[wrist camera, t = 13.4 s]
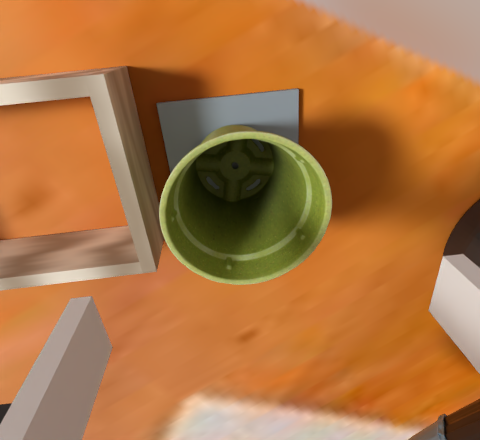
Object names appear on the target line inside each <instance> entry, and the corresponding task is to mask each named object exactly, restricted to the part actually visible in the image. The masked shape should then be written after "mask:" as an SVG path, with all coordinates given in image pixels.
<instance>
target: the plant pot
mask: <svg viewBox="0 0 480 440" xmlns="http://www.w3.org/2000/svg"><path fill="white" fill-rule="evenodd" d="M251 139H257V140H258V141H259V142H260V143H261V144H262V145H263V147H264V151H263V152H262V151H261V150H260V149H259V147H258V146H257V145H256V144H255V143H254V142H253V141H252V140H251ZM209 148H210V149H209ZM233 163H237V164H238V166H239V167H238V168H237V169H234V168H233V167H232V164H233ZM207 177H210V178H211V180H212V181H213V182H214V183H215V184H216V185H217V186H219V189H215V188H214V187H213V186H212V185H210V184H209V183H208V182H207V180H206V178H207ZM257 179H260V183H259V184H258V185H257V186H256V187H255V188H253V189H251V190H246V188H247V187H249V186H250V185H252V184H253V183H254V182H255V181H256V180H257ZM331 210H332V194H331V188H330V185H329V181H328V178H327V177H326V174H325V172H324V170H323V169H322V167H321V166H320V164H319V163H318V162H317V160H316V159H315V158H314V157H313V156H312V155H311V154H310V153H309V152H308V151H307V150H305V149H304V148H303V147H302V146H300V145H299V144H297V143H295V142H294V141H292V140H290V139H287V138H285V137H283V136H280V135H277V134H273V133H269V132H263V131H257V130H255V129H253V128H251V127H248V126H243V125H227V126H223V127H220V128H218V129H216V130H214V131H213V132H211V133H210V134H209V135H207V136H206V137H205V139H204V140H203V141H202V143H201V144H200V145H198V146H197V147H195V148H194V149H193V150H191V151H190V152H189V153H188V154H187V155H185V156H184V157H183V158H182V159H181V161H180V162H179V163H178V164H177V165H176V167H175V168H174V169H173V171H172V173H171V174H170V176H169V178H168V180H167V182H166V184H165V186H164V189H163V192H162V195H161V200H160V207H159V218H160V226H161V230H162V233H163V236H164V238H165V241H166V243H167V245H168V247H169V248H170V250H171V251H172V253H173V254H174V255H175V257H176V258H177V259H178V260H179V261H180V262H181V263H182V264H184V265H185V266H186V267H187V268H189V269H190V270H191V271H193V272H195V273H196V274H198V275H201V276H203V277H205V278H207V279H209V280H212V281H216V282H220V283H227V284H235V285H244V284H255V283H260V282H264V281H268V280H271V279H274V278H276V277H279V276H281V275H283V274H285V273H287V272H289V271H290V270H292V269H293V268H295V267H296V266H298V265H299V264H300V263H302V262H303V261H304V260H305V259H306V258H307V257H308V256H309V255H310V254H311V253H312V252H313V251H314V250H315V248H316V247H317V245H318V244H319V243H320V241H321V239H322V237H323V236H324V234H325V232H326V229H327V226H328V223H329V221H330V218H331Z"/></svg>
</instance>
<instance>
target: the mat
mask: <svg viewBox="0 0 480 440" xmlns="http://www.w3.org/2000/svg"><path fill="white" fill-rule="evenodd" d="M157 109H158V114H159V119H160V124H161V129H162V134H163V138H164V143H165V148H166V153H167V158H168V163H169V168H170V173H172V171H173V169H174V168H175V167H176V165H177V164H178V163H179V162H180V161H181V159H182V158H183V157H184V156H185V155H187V154H188V153H189V152H190V151H191V150H193V149H194V148H195V147H197V146H198V145H200V144H201V143H202V141H203V140H204V139H205V137H206V136H207V135H209V134H210V133H211V132H213V131H214V130H216V129H218V128H220V127H223V126H227V125H243V126H248V127H251V128H253V129H255V130H257V131H263V132H269V133H273V134H277V135H280V136H283V137H285V138H287V139H290V140H292V141H294V142H295V143H297V144H298V136H299V89H298V88H297V89H287V90H277V91H268V92H258V93H248V94H239V95H229V96H219V97H210V98H200V99H190V100H181V101H171V102H161V103H157ZM251 140H252V141H253V142H254V143H255V144H256V145H257V146H258V147H259V149H260V150H261V151H262V152H263V151H264V147H263V145H262V144H261V143H260V142H259V141H258V140H257V139H251ZM209 149H210V148H209ZM232 167H233V168H234V169H237V168H238V167H239V166H238V164H237V163H233V164H232ZM206 180H207V182H208V183H209V184H210V185H212V186H213V187H214V188H215V189H219V186H217V185H216V184H215V183H214V182H213V181H212V180H211V178H210V177H207V178H206ZM259 183H260V179H257V180H256V181H255V182H254V183H253V184H252V185H250V186H249V187H247V188H246V190H251V189H253V188H255V187H256V186H257V185H258V184H259Z"/></svg>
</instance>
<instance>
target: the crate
mask: <svg viewBox="0 0 480 440" xmlns="http://www.w3.org/2000/svg"><path fill="white" fill-rule="evenodd" d="M89 96H90V98H91V101H92V105H93V108H94V111H95V115H96V118H97V122H98V125H99V128H100V132H101V135H102V138H103V142H104V145H105V148H106V152H107V155H108V158H109V162H110V165H111V169H112V172H113V175H114V179H115V182H116V185H117V189H118V192H119V195H120V199H121V202H122V205H123V209H124V212H125V215H126V219H127V222H128V226H121V227H112V228H104V229H95V230H86V231H78V232H69V233H60V234H52V235H43V236H34V237H26V238H17V239H9V240H0V290H8V289H16V288H25V287H33V286H41V285H50V284H58V283H66V282H75V281H83V280H91V279H99V278H108V277H116V276H124V275H133V274H141V273H149V272H157V268H158V264H159V259H160V254H161V250H162V245H163V241H164V236H163V233H162V230H161V226H160V218H159V207H160V206H159V202H158V197H157V193H156V189H155V185H154V180H153V176H152V172H151V167H150V163H149V159H148V155H147V150H146V146H145V142H144V138H143V133H142V129H141V125H140V121H139V116H138V112H137V108H136V103H135V99H134V95H133V91H132V86H131V82H130V78H129V74H128V69H127V66H121V67H111V68H101V69H91V70H81V71H71V72H61V73H51V74H41V75H31V76H21V77H11V78H0V106H1V105H11V104H20V103H30V102H40V101H50V100H60V99H69V98H79V97H89Z"/></svg>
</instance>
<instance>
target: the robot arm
mask: <svg viewBox="0 0 480 440" xmlns="http://www.w3.org/2000/svg"><path fill="white" fill-rule="evenodd" d="M429 312H430V313H431V314H432V315H433V317H434V318H435V319H436V320H437V321H438V323H439V324H440V325H441V326H442V328H443V329H444V330H445V331H446V333H447V334H448V335H449V336H450V338H451V339H452V340H453V341H454V343H455V344H456V345H457V346H458V348H459V349H460V350H461V351H462V353H463V354H464V355H465V356H466V357H467V359H468V360H469V361H470V362H471V364H472V365H473V366H474V367H475V369H476V370H477V371H478V372H479V374H480V200H479V201H478V202H476V203H475V204H474V205H473V206H472V207H471V208H470V209H469V210H468V211H467V212H466V213H465V215H464V216H463V217H462V218H461V219H460V221H459V222H458V223H457V225H456V226H455V228H454V229H453V231H452V233H451V235H450V237H449V239H448V241H447V243H446V246H445V249H444V253H443V258H442V262H441V266H440V270H439V273H438V277H437V281H436V285H435V288H434V292H433V296H432V300H431V303H430V307H429ZM112 348H113V347H112V345H111V342H110V340H109V338H108V335H107V333H106V330H105V328H104V325H103V323H102V320H101V318H100V315H99V313H98V310H97V308H96V305H95V303H94V300H93V298H92V296H89V297H80V298H71V299H70V301H69V303H68V304H67V306H66V308H65V310H64V312H63V313H62V315H61V317H60V319H59V320H58V322H57V324H56V326H55V328H54V329H53V331H52V333H51V335H50V336H49V338H48V340H47V342H46V344H45V345H44V347H43V349H42V351H41V353H40V354H39V356H38V358H37V360H36V361H35V363H34V365H33V367H32V369H31V370H30V372H29V374H28V376H27V377H26V379H25V381H24V383H23V385H22V386H21V388H20V390H19V392H18V393H17V395H16V397H15V399H14V401H13V402H12V403H11V404H2V405H0V440H82V438H83V435H84V432H85V429H86V426H87V423H88V420H89V417H90V414H91V411H92V408H93V405H94V402H95V399H96V396H97V393H98V390H99V387H100V384H101V381H102V378H103V375H104V372H105V369H106V366H107V363H108V360H109V357H110V354H111V351H112ZM409 440H480V399H478V400H476V401H474V402H473V403H471V404H469V405H467V406H465V407H463V408H461V409H459V410H458V411H456V412H454V413H452V414H450V415H448V416H447V415H445V414H443V415H440V416H439V418H438V420H437V421H436V422H435V423H433V424H431V425H430V426H428V427H427V428H425V429H423V430H422V431H420V432H419V433H417V434H415V435H414V436H412V437H411V438H410V439H409Z"/></svg>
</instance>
